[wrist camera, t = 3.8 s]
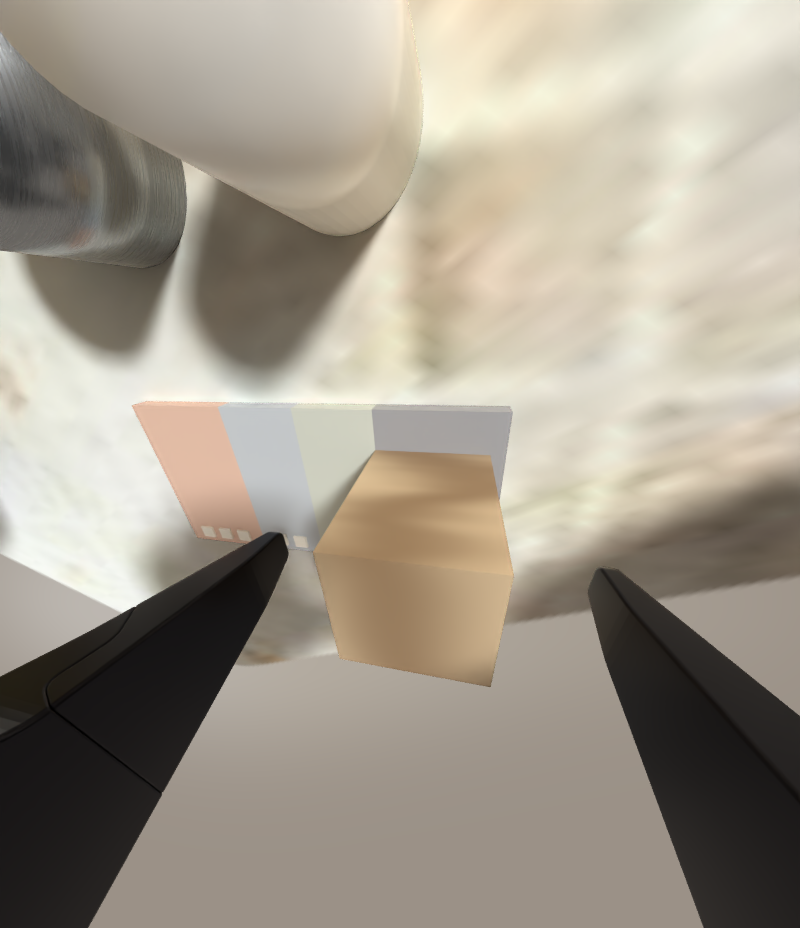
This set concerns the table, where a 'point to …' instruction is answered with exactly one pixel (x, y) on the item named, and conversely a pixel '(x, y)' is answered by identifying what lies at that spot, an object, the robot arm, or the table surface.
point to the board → (298, 457)
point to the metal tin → (80, 178)
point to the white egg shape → (248, 91)
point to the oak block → (419, 566)
